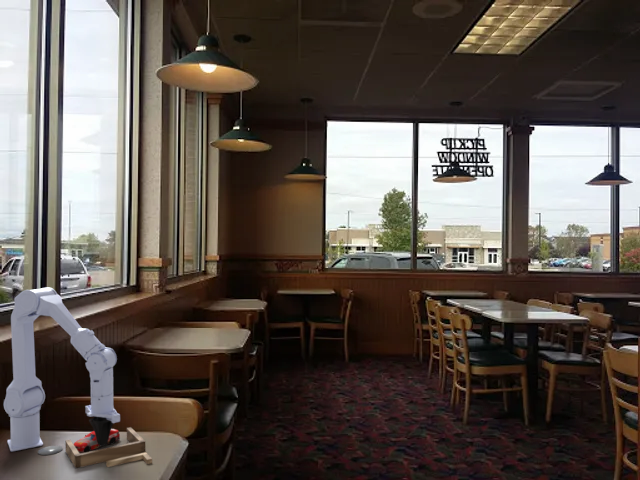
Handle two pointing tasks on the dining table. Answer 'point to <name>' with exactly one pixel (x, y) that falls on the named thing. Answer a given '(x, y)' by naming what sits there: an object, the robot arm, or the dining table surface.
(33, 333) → the robot arm
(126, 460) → the oak crook stick
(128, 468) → the dining table surface
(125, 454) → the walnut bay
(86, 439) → the race car
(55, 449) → the slate coaster
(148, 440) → the dining table surface
